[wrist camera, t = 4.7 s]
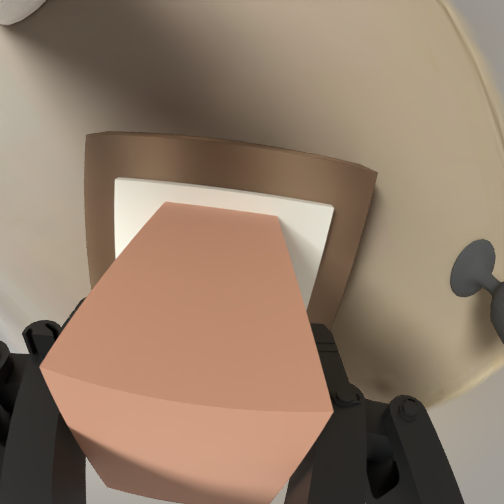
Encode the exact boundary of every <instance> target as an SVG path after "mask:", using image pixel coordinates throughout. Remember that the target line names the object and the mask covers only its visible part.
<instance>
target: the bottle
mask: <svg viewBox="0 0 504 504" xmlns="http://www.w3.org/2000/svg"><path fill="white" fill-rule="evenodd" d="M45 1H46V0H0V24H2V25H11V24H13V23H16V22H19V21H22V20H23V19H24V18H26V17H27V16H29V15H30V14H31V13H33V12H34V11H36V10H37V9H38V8H39V7H40V6H41V5H42V4H43V3H44V2H45Z"/></svg>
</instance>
